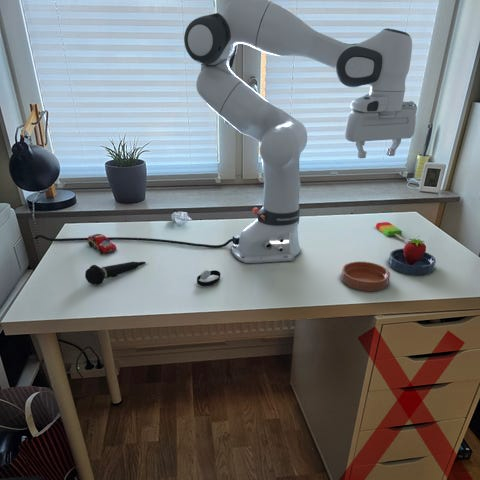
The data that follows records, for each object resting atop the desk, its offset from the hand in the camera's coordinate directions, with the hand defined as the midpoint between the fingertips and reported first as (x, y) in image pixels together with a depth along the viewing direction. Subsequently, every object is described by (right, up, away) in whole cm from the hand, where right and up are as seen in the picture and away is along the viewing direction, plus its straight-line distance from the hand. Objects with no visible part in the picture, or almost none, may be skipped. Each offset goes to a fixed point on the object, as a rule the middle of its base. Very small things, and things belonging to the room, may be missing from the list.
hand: (376, 156), depth 124 cm
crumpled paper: (-61, -9, +43) cm, 75 cm away
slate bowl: (+14, -29, +12) cm, 35 cm away
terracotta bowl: (-2, -35, +4) cm, 35 cm away
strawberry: (+14, -29, +12) cm, 35 cm away
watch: (-47, -35, +2) cm, 59 cm away
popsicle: (+16, -15, +34) cm, 41 cm away
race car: (-84, -23, +22) cm, 89 cm away
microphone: (-74, -33, +5) cm, 81 cm away
